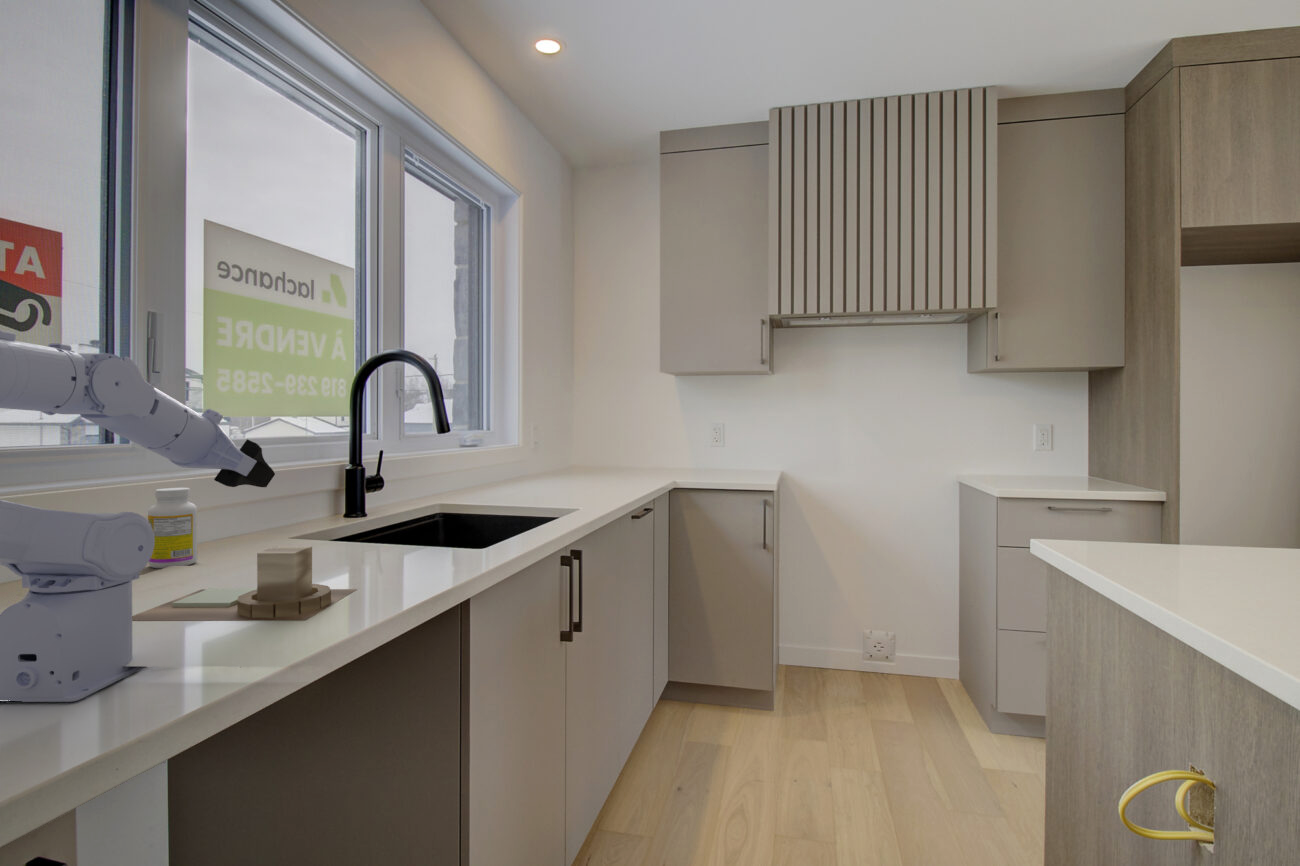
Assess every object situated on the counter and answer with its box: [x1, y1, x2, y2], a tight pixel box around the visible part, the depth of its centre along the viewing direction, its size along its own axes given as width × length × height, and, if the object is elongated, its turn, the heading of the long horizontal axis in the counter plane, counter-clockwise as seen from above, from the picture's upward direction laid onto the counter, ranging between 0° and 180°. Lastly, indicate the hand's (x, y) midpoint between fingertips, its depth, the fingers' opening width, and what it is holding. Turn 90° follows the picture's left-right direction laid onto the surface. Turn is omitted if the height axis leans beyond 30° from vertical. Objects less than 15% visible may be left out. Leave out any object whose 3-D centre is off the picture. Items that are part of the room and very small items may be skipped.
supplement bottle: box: [147, 487, 198, 569], centre depth 108 cm, size 7×7×13 cm
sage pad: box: [172, 587, 257, 607], centre depth 83 cm, size 7×7×1 cm
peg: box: [256, 545, 313, 602], centre depth 80 cm, size 4×4×7 cm
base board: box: [132, 583, 358, 622], centre depth 81 cm, size 14×21×3 cm, turn 92°
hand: (244, 468), depth 81 cm, fingers open, 7 cm apart
